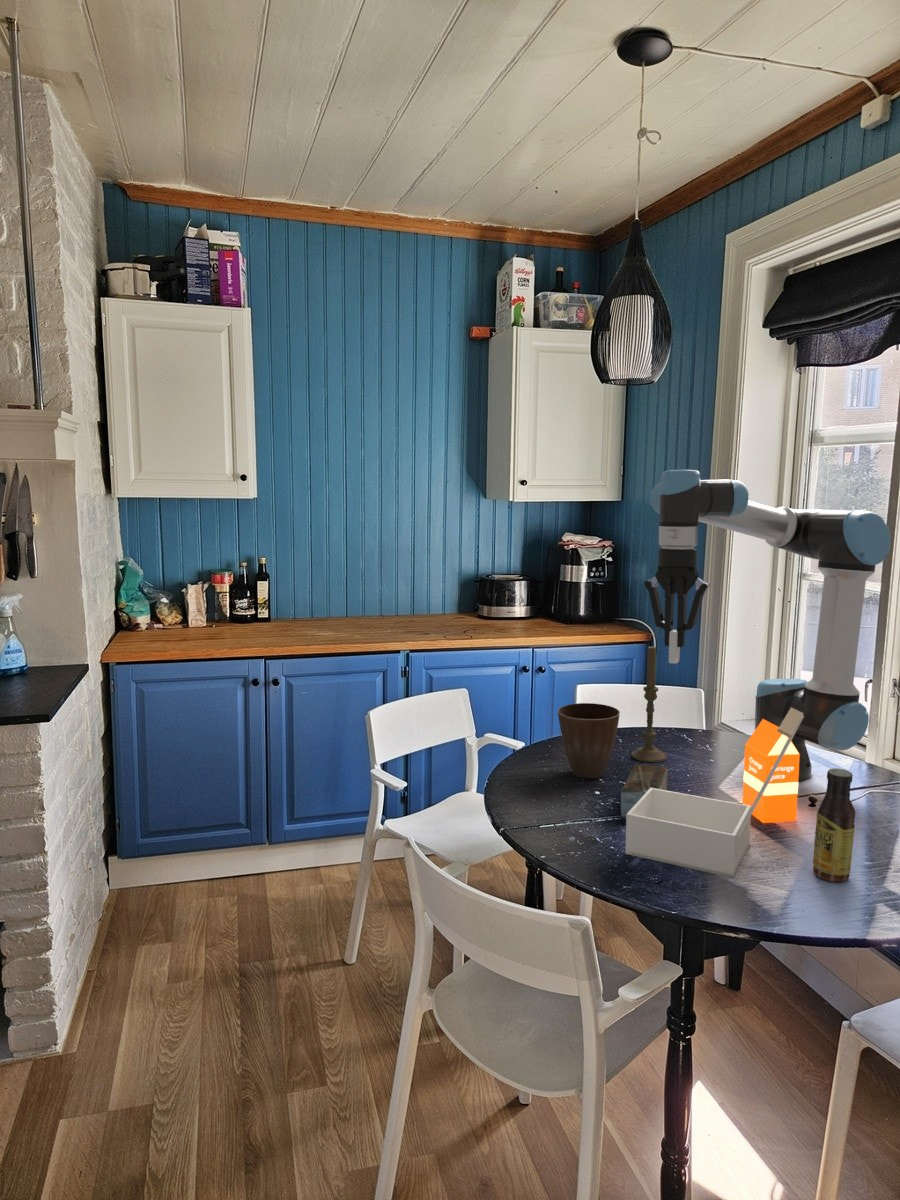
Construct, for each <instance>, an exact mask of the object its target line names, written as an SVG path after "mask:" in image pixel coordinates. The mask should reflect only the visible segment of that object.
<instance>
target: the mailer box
mask: <svg viewBox="0 0 900 1200" xmlns="http://www.w3.org/2000/svg"><path fill="white" fill-rule="evenodd" d="M750 809H751V806H750V805H745V804H743V803H739V802H734V801H733V802H732V801H728V800H721V799H717V798H712V797H704V796H699V795H692V794H688V793H683V792H677V791H671V790H668V789H667V790H661V789H656V788H650V789H649V790H648V791H647V792H646V793H645V794H644V795H643V796H642V798H641V799H640V800H639V801H638V802H637V803H636V804H635V805H634V806H633V808H632V809H631V810H630V811H629V812H628V813H627V814H626V817H625V820H626V821H625V822H626V823H625V852H624V853H625V855H630V856H634V857H638V858H643V859H648V860H652V861H656V862H661V863H666V864H670V865H673V866H678V867H683V868H687V869H692V870H698V871H701V872H705V873H710V874H714V875H719V876H723V877H727V878H732V879H733V878H734V877H735V875H736V874H737V871H738V869H739V867H740V866H741V862H742V861H743V858H744V857H745V854H746V853H747V850H748V849H749V846H750V844H751V843H750V842H751V840H750V838H751V822H752V816H751V817H750V819H749V820H748V822H747V824H746V826H745V828H744V830H743V832H742V833H741V835H740V837H739V836H737V833H738V831H739V829H740V828H741V826H742V824H743V822H744V820H745V818H746V816H747V814H748V813H749V811H750Z"/></svg>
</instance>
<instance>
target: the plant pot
mask: <svg viewBox="0 0 900 1200" xmlns="http://www.w3.org/2000/svg"><path fill="white" fill-rule="evenodd" d="M620 714H621V712H620V710H619V709H618V708H616V707H614V706H611V705H608V704H601V703H591V702H589V703H587V702H585V703H584V702H581V703H580V702H579V703H569V704H565V705H563V706H560V707H559V708H558V709H557V716H558V722H559V723H558V724H559V730H560V733H561V734H560V735H561V738H562V739H561V740H562V743H563V747H564V750H565V754H566V758H567V760H568V763H569V766H570V770H571V771H572V774H573V773H574V774H575V775H576V777H577V776H578V777H577V778H580V777H582V778H581V779H586V778H590V779H589V780H591V778H592V779H593V778H594V779H598V778H601V777H603V776H604V774H605V773H606V769H607V766H608V764H609V761H610V758H611V755H612V752H613V748H614V745H615V741H616V736H617V731H618V727H619V721H620ZM574 774H573V775H574ZM575 775H574V776H575Z"/></svg>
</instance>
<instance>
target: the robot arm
mask: <svg viewBox="0 0 900 1200" xmlns="http://www.w3.org/2000/svg"><path fill="white" fill-rule="evenodd" d="M700 473H701V472H700V471H699V470H696V469H668V470H665V471H664V472H662V474H661V477H660V482H658V483H656V484H655V485H654V486H653V488H652V490H651V491H650V492H651V493H650V495H649V496H650V497H649V502H650V505H651V507H652V509H653V510H654V511H655V512H656V513H657V514H659V520H658V521H659V526H658V545H659V546H661V547H660V548H659V549H658V551H657V552H658V554H657V555H658V557H657V559H658V560H657V570H656V572H655V576H653V577H651V578H649V579H648V580H645V581H644V582H643V583H644V586H645V588H646V589H647V591H648V594H649V599H650V604H651V609H652V614H653V619H654V622H655V623H654V624H655V625H656V627H657V628H661V629H663V630H664V642H663V643H664V646H665V647H669V648H668V664H673V665H674V664H675V665H676V664H678V663H679V662H680V658H681V657H680V654H681V653H680V652H681V651H680V650H681V649H680V648H684V647H685V645H686V631H688V630H692V629H694V628H695V627H696V623H697V620H698V616H699V614H700V609H701V606H702V602H703V598H704V597H705V594H706V592H707V591H708V590H709V588H710V586H711V584H710V583H709V582H708V581H707V582H705V581H704V580H702V579H701V578H700V576H699V573H698V571H697V567H698V565H697V564H698V563H697V560H698V558H697V557H698V550H697V548H695V547H696V546H697V545H698V537H699V536H698V535H699V531H698V529H699V528H698V527H699V522H700V523H704V524H707V525H711V526H715V527H717V528H721V529H723V530H724V529H725V530H728V531H732V532H735V533H739V534H743V535H747V536H750V537H754V538H757V539H762V540H765V542H766V544H768V545H769V546H771V547H774V548H778V549H780V550H783V551H787V552H790V553H793V554H795V555H798V556H801V557H805V558H809V559H812V560H813V559H814V560H818V563H817V569H818V570H819V571H820V572H821V574H822V575H823V584H822V593H821V602H820V610H819V619H818V626H817V636H816V643H815V645H816V646H815V652H814V653H815V654H814V659H813V660H814V661H813V667H812V668H813V670H812V678H811V679H810V680H808V681H807V680H806V679H801V678H770V679H765V680H762V681H760V682H759V683H758V685H757V687H756V688H757V689H756V695H755V709H754V710H755V711H754V712H755V713H754V714H755V718H754V731H755V730H756V728H757V727H758V725H759V724H760V722H761V721H762V720H763V719H764V720H766V721H768V722H770V723H772V724H774V725H776V726H778V727H780V725H781V723H782V722H783V720H784V718H785V717H786V715H787V713H788V712H789V710H790V708H791V707H792V708H794V709H796V710H798V711H800V712H802V713H804V714H803V716H804V717H803V719H802V721H801V723H800V725H799V727H798V729H797V731H796V733H795V735H794V736H793V738H792V740H791V741H792V743H793V744H794V746H795V748H796V749H797V751H798V752H799V754H800V758H799V776H798V782H799V781H803V780H807V779H808V778H810V777H811V776H812V769H813V767H812V763H811V758H810V755H809V753H808V749H807V745H806V742H810V743H814V744H816V745H819V746H820V747H823V748H825V749H831V750H835V751H847V750H850V749H852V748H853V747H855V746H856V745H857V744H858V743H859V742H860V741H861V740H862V739H863V737H864V736H865V734H866V731H867V730H868V726H869V721H870V719H869V718H870V716H869V712H868V711H867V708H866V707H865V706H864V705H863V703H860V701H859V700H860V695H861V693H860V691H859V689H858V688H857V687H856V686H855V685H854V683H855V682H854V681H855V672H856V666H857V665H856V664H857V656H858V648H859V640H860V632H861V626H862V625H861V623H862V615H863V610H864V609H863V607H864V599H865V591H866V583H867V579H868V578H870V577H871V576H872V575H874V573H876V565H879V564H881V563H882V562H884V561H885V560H886V557H887V556H888V555H889V552H890V550H891V545H892V544H891V543H892V541H891V533H890V528H889V526H888V524H887V523H886V522H885V520H884V519H883V517H881V515H879V514H878V513H876V512H872V511H869V510H859V509H854V510H853V509H851V510H850V509H843V510H842V509H796V508H792V507H791V508H790V507H787V506H779V507H777V508H775V507H772V506H768V505H764V504H760V503H758V502H756V501H751V500H749V495H750V494H749V491H748V487H747V486H746V485H745V483H743V482H742V481H741V480H738V479H737V480H736V479H734V480H733V479H730V478H729V479H701V474H700ZM694 585H695V588H694V589H695V590H696V592H695V594H694V598H693V601H692V603H691V608H690V611H689V614H688V617H687V611H688V610H687V607H688V606H687V605H688V597H689V595H688V592H690V590H691V589H692V587H693V586H694ZM658 586H660V587H661V588H662V589H663V591H664V598H665V599H664V600H665V601H664V612H663V608H662V607H663V606H662V603H661V598H660V594H659V590H658ZM676 594H677V615H676V617H677V618H676V621H677V622H676V629H674V627H675V626H674V619H675V618H674V615H675V614H674V613H675V596H676Z"/></svg>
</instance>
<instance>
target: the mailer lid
mask: <svg viewBox="0 0 900 1200" xmlns="http://www.w3.org/2000/svg"><path fill="white" fill-rule="evenodd" d="M803 714H804V713H802V712H800V711H798V710H796V709H794V708H792V707H791V708H790V710H789V712H788V713H787V715H786V717H785V718H784V720H783V722H782V723H781V725H780V727H779V728H778V730H777V732H779V733H781V734H783V735H785V736H787V737H789V738H788V740H787V741H786V743H785V745H784V747H783V749H782V751H781V753H780V755H779V756H778V758H777V760H776V762H775V764H774V766H773V768H772V770H771V771H770V773H769V775H768V777H767V779H766V781H765V783H764V785H763V786H762V788H761V790H760V792H759V794H758V796H757V798H756V799H755V801H754V803H753V805H752V807H751V809H750V811H749V813H748V814H747V816H746V818H745V820H744V822H743V824H742V826H741V828H740V829H739V831H738V833H737V836H739V837H740V835H741V833H742V832H743V830H744V828H745V826H746V824H747V822H748V820H749V819H750V817H751V818H752V816H753V815H752V813H753V811H754V809H755V807H756V806H757V804H758V802H759V800H760V798H761V796H762V794H763V792H764V791H765V789H766V787H767V785H768V783H769V781H770V779H771V778H772V776H773V774H774V772H775V770H776V768H777V766H778V765H779V763H780V761H781V759H782V757H783V755H784V753H785V751H786V750H787V748H788V746H789V744H790V742H791V740H792V738H793V736H794V735H795V733H796V731H797V729H798V727H799V725H800V723H801V721H802V719H803V717H804V716H803Z"/></svg>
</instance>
